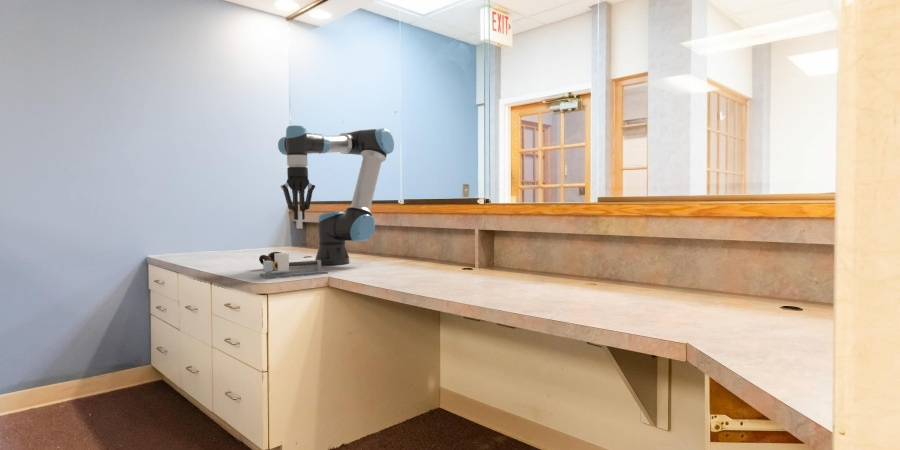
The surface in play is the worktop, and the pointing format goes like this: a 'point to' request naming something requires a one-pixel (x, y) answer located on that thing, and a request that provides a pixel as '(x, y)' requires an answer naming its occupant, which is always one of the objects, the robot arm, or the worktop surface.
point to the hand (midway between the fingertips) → (299, 228)
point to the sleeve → (282, 261)
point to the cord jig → (270, 266)
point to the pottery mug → (268, 257)
